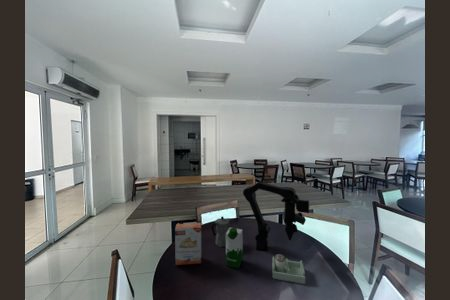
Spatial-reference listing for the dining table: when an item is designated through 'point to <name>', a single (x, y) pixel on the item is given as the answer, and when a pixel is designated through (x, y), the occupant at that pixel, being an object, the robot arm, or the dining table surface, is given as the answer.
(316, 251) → the dining table surface
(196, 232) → the cracker box
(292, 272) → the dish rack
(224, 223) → the coffeepot
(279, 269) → the jar
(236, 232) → the milk carton
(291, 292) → the dining table surface
